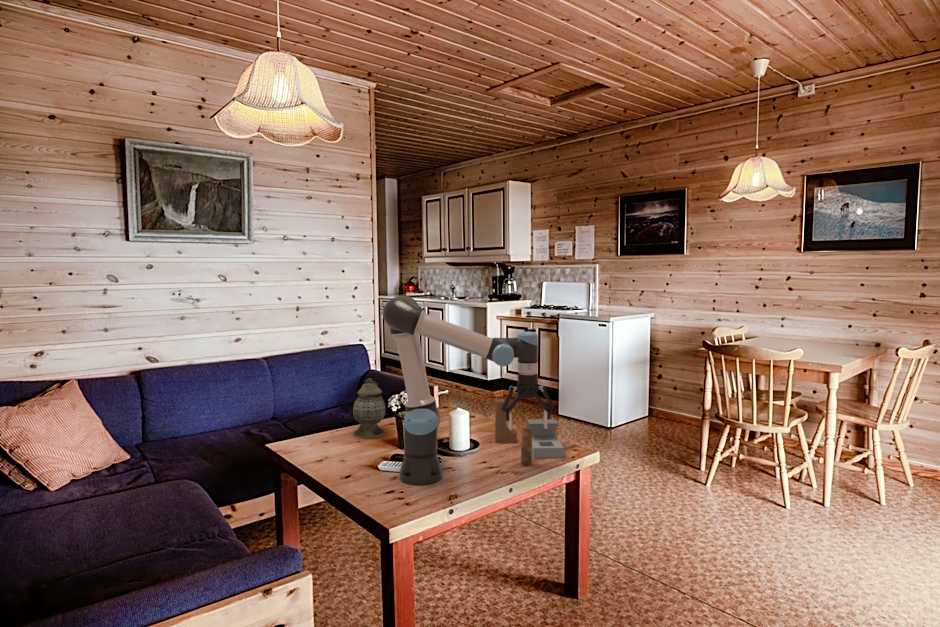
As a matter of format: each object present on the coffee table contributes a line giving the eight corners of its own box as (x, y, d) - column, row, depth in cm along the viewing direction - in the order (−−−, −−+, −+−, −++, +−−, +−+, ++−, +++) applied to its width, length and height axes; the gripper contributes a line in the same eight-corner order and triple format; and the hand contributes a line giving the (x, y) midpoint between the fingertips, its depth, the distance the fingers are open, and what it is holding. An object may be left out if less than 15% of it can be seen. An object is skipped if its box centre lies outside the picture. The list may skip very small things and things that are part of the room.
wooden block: (515, 439, 246) (516, 399, 244) (516, 443, 241) (517, 401, 240) (495, 439, 246) (495, 398, 244) (495, 443, 241) (495, 401, 240)
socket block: (533, 458, 224) (534, 431, 222) (526, 444, 239) (526, 419, 238) (563, 457, 224) (564, 430, 223) (554, 444, 240) (555, 418, 239)
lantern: (347, 433, 254) (346, 377, 252) (374, 426, 264) (373, 373, 261) (364, 440, 244) (363, 383, 241) (391, 433, 253) (391, 378, 251)
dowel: (522, 466, 215) (522, 430, 214) (520, 462, 219) (520, 426, 218) (532, 465, 215) (533, 429, 214) (530, 462, 219) (531, 426, 218)
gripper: (496, 376, 209) (496, 432, 211) (562, 374, 211) (562, 430, 213) (493, 372, 216) (493, 426, 219) (558, 370, 218) (557, 424, 221)
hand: (527, 428), depth 216 cm, fingers open, 13 cm apart
